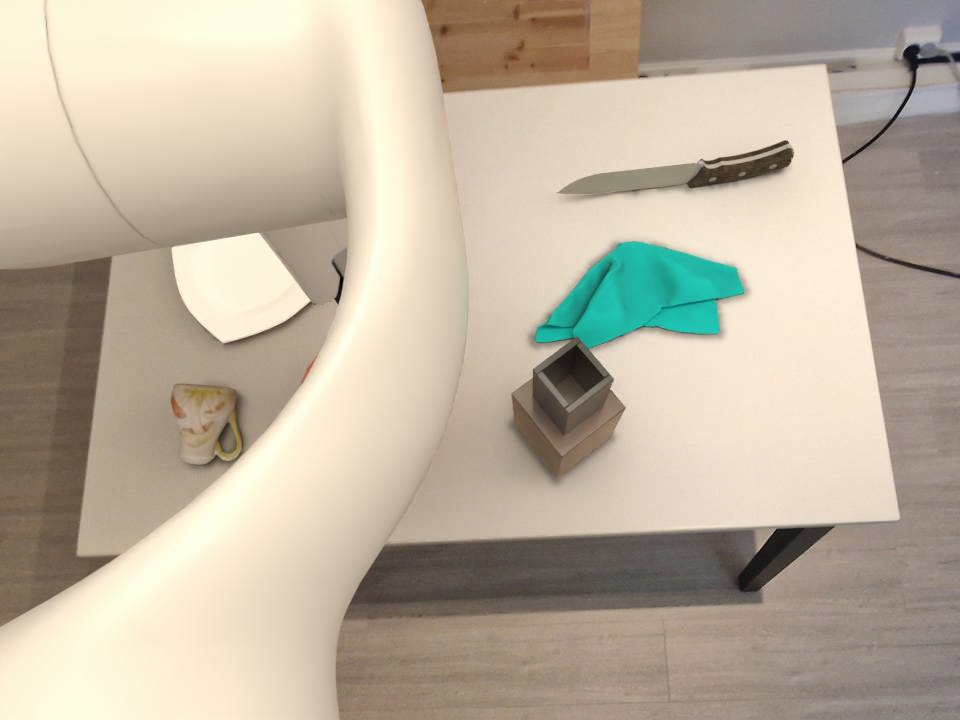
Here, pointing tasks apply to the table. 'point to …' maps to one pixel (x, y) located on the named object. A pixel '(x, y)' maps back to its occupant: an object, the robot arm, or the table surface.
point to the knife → (688, 172)
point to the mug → (204, 421)
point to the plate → (236, 286)
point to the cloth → (642, 295)
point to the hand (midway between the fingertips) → (347, 276)
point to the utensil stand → (567, 407)
